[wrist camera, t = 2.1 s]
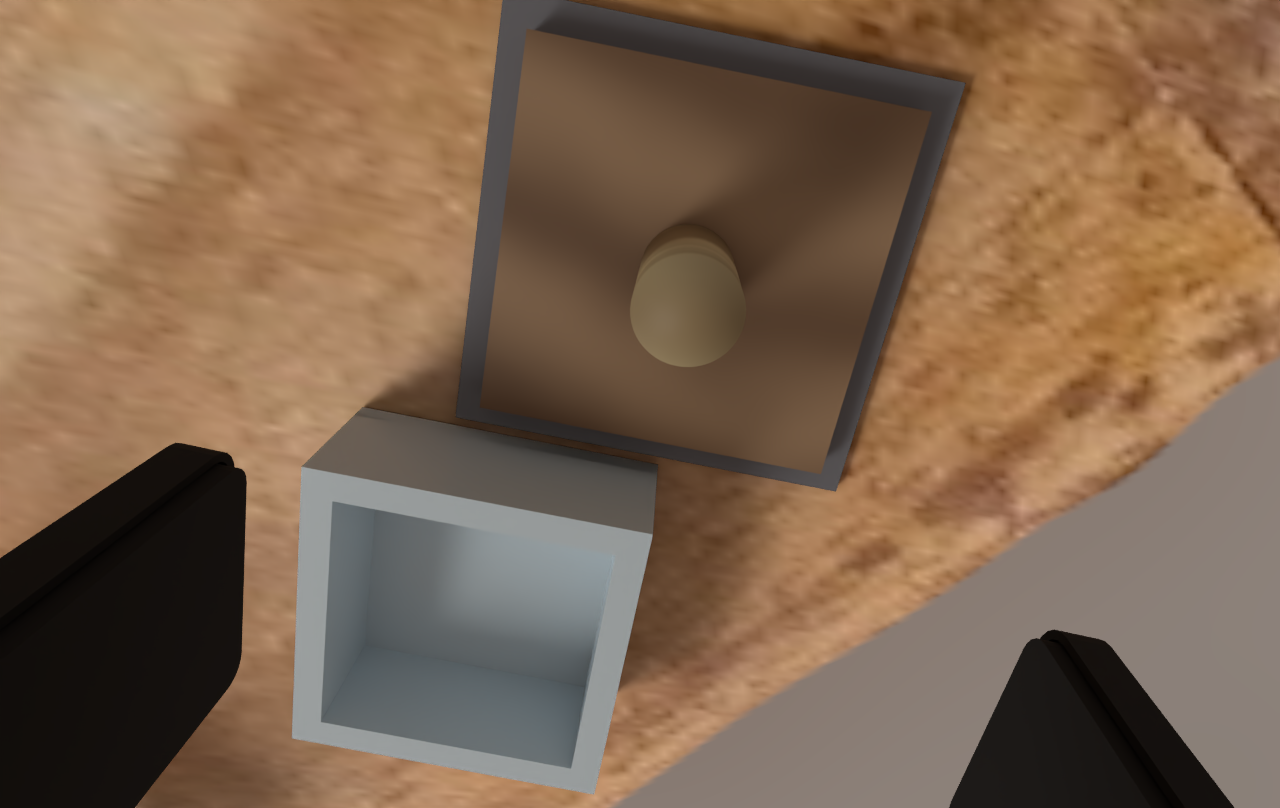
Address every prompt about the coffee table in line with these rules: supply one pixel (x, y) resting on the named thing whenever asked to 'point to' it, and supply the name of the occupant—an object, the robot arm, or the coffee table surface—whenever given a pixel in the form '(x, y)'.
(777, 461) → the lid
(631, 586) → the grey square box
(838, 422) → the mat
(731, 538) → the coffee table surface
